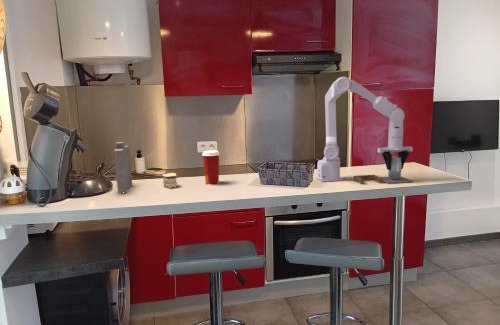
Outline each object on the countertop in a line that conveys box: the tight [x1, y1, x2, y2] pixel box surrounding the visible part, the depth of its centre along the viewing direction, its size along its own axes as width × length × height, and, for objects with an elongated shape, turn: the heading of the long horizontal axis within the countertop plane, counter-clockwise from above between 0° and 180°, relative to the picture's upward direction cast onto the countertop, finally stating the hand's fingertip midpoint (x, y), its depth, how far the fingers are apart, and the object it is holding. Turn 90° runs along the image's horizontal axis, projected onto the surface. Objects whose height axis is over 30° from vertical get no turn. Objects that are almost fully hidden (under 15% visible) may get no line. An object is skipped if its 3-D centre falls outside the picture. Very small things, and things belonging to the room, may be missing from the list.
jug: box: [387, 155, 402, 177], centre depth 170 cm, size 5×7×8 cm
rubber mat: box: [379, 176, 414, 185], centre depth 172 cm, size 11×11×1 cm
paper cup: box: [201, 150, 220, 185], centre depth 177 cm, size 8×8×14 cm
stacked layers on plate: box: [161, 172, 178, 189], centre depth 174 cm, size 10×9×6 cm
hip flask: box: [113, 141, 133, 194], centre depth 170 cm, size 16×4×20 cm, turn 5°
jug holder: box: [353, 174, 383, 185], centre depth 171 cm, size 9×8×2 cm
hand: (394, 169), depth 172 cm, fingers closed on jug, 5 cm apart
